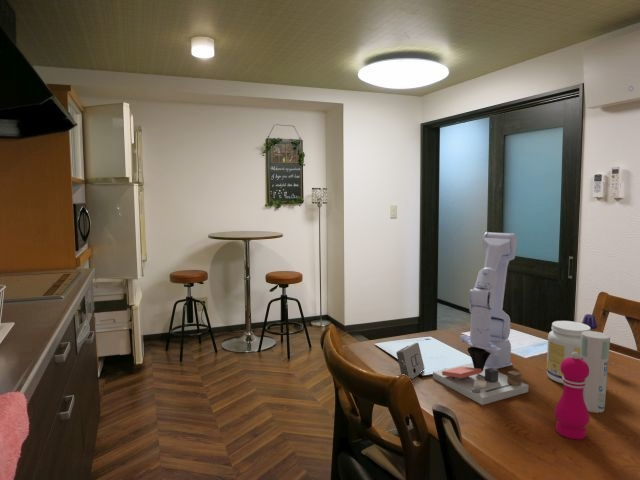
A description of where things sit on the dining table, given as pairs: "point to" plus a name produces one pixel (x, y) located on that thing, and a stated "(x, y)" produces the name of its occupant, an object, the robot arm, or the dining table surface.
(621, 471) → the dining table surface
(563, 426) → the pepper mill
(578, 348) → the supplement tub
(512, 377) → the walnut slider
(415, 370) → the electrical switch
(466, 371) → the red rocker
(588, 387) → the spray can
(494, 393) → the console
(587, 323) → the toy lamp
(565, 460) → the dining table surface
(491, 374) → the black slider
